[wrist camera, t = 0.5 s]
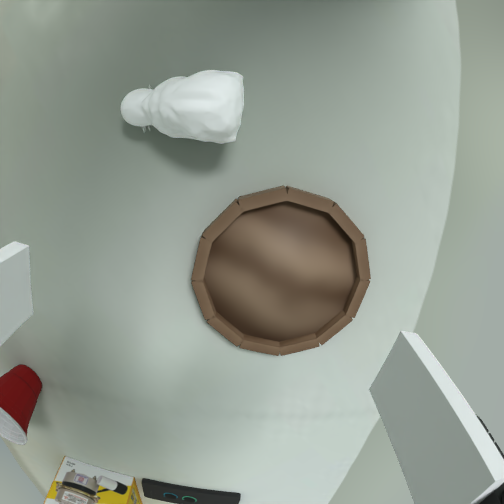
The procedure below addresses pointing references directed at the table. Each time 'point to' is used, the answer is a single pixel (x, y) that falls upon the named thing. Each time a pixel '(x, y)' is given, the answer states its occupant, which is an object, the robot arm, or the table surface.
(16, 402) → the plastic cup
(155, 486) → the smart home device
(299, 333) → the coaster
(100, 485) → the packaging box
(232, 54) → the table surface
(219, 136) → the white piece
